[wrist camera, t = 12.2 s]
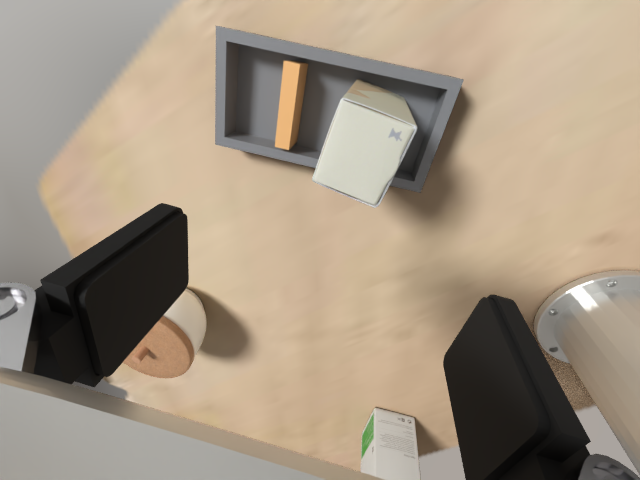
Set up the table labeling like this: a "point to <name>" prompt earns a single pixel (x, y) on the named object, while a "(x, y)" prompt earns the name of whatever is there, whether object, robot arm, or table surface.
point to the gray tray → (319, 99)
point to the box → (365, 143)
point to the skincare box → (390, 446)
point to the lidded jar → (172, 339)
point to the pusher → (290, 103)
